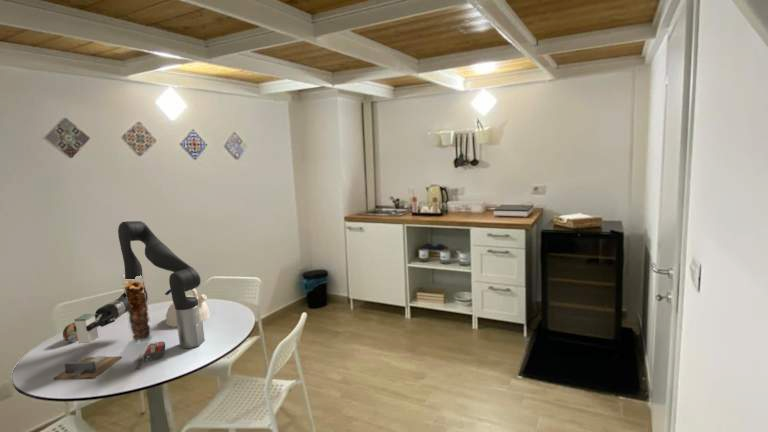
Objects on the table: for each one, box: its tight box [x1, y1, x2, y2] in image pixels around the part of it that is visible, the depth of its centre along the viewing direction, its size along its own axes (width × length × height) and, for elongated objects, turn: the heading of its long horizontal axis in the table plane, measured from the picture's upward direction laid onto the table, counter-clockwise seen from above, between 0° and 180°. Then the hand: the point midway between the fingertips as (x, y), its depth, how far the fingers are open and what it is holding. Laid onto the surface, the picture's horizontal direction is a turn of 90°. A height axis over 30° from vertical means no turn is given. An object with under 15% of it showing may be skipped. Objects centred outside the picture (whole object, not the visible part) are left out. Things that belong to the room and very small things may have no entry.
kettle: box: [164, 288, 211, 328], centre depth 213 cm, size 20×21×18 cm
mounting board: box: [53, 355, 123, 380], centre depth 168 cm, size 16×16×1 cm
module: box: [74, 313, 99, 344], centre depth 168 cm, size 4×5×10 cm
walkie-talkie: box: [135, 341, 166, 370], centre depth 174 cm, size 9×4×20 cm
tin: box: [62, 321, 78, 343], centre depth 197 cm, size 15×3×8 cm, turn 168°
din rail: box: [71, 355, 107, 376], centre depth 168 cm, size 4×14×1 cm, turn 177°
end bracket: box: [64, 361, 96, 374], centre depth 163 cm, size 11×2×4 cm, turn 88°
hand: (81, 328), depth 165 cm, fingers closed on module, 4 cm apart
